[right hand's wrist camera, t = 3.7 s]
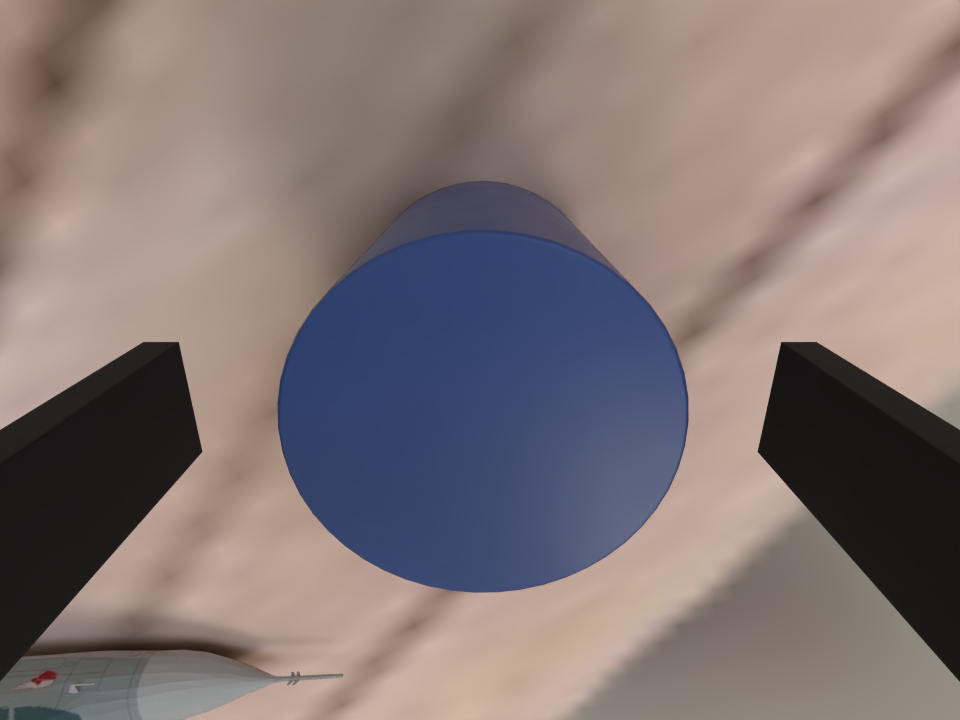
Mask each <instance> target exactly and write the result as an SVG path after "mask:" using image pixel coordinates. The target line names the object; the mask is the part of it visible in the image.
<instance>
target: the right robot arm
mask: <svg viewBox="0 0 960 720" xmlns="http://www.w3.org/2000/svg"><path fill="white" fill-rule="evenodd" d="M201 453H202V448H201V444H200V439H199V434H198V430H197V425H196V420H195V416H194V411H193V406H192V402H191V397H190V393H189V388H188V383H187V379H186V374H185V369H184V365H183V360H182V355H181V351H180V346H179V342H143V343H141V344H140V345H138V346H136V347H135V348H133V349H132V350H130V351H128V352H127V353H125V354H123V355H122V356H120V357H118V358H117V359H115V360H114V361H112V362H110V363H109V364H107V365H105V366H104V367H102V368H101V369H99V370H97V371H96V372H94V373H92V374H91V375H89V376H87V377H86V378H84V379H83V380H81V381H79V382H78V383H76V384H74V385H73V386H71V387H70V388H68V389H66V390H65V391H63V392H61V393H60V394H58V395H56V396H55V397H53V398H52V399H50V400H48V401H47V402H45V403H43V404H42V405H40V406H39V407H37V408H35V409H34V410H32V411H30V412H29V413H27V414H25V415H24V416H22V417H21V418H19V419H17V420H16V421H14V422H12V423H11V424H9V425H8V426H6V427H4V428H3V429H1V430H0V681H1V680H2V679H3V678H4V677H5V676H6V674H7V673H8V672H9V671H10V670H11V669H12V668H13V666H14V665H15V664H16V663H17V662H18V661H19V660H20V659H21V657H22V656H23V655H24V654H25V653H26V652H27V651H28V649H29V648H30V647H31V646H32V645H33V644H34V643H35V641H36V640H37V639H38V638H39V637H40V636H41V635H42V634H43V632H44V631H45V630H46V629H47V628H48V627H49V626H50V624H51V623H52V622H53V621H54V620H55V619H56V618H57V616H58V615H59V614H60V613H61V612H62V611H63V610H64V608H65V607H66V606H67V605H68V604H69V603H70V602H71V601H72V599H73V598H74V597H75V596H76V595H77V594H78V593H79V591H80V590H81V589H82V588H83V587H84V586H85V585H86V583H87V582H88V581H89V580H90V579H91V578H92V577H93V576H94V574H95V573H96V572H97V571H98V570H99V569H100V568H101V566H102V565H103V564H104V563H105V562H106V561H107V560H108V558H109V557H110V556H111V555H112V554H113V553H114V552H115V550H116V549H117V548H118V547H119V546H120V545H121V544H122V543H123V541H124V540H125V539H126V538H127V537H128V536H129V535H130V533H131V532H132V531H133V530H134V529H135V528H136V527H137V525H138V524H139V523H140V522H141V521H142V520H143V519H144V518H145V516H146V515H147V514H148V513H149V512H150V511H151V510H152V508H153V507H154V506H155V505H156V504H157V503H158V502H159V500H160V499H161V498H162V497H163V496H164V495H165V494H166V492H167V491H168V490H169V489H170V488H171V487H172V486H173V485H174V483H175V482H176V481H177V480H178V479H179V478H180V477H181V475H182V474H183V473H184V472H185V471H186V470H187V469H188V467H189V466H190V465H191V464H192V463H193V462H194V461H195V459H196V458H197V457H198V456H199V455H200V454H201ZM758 453H759V454H760V455H761V456H762V457H763V458H764V460H765V461H766V462H767V463H768V464H769V465H770V466H771V467H772V469H773V470H774V471H775V472H776V473H777V474H778V475H779V477H780V478H781V479H782V480H783V481H784V482H785V483H786V485H787V486H788V487H789V488H790V489H791V490H792V491H793V492H794V494H795V495H796V496H797V497H798V498H799V499H800V500H801V502H802V503H803V504H804V505H805V506H806V507H807V508H808V510H809V511H810V512H811V513H812V514H813V515H814V516H815V518H816V519H817V520H818V521H819V522H820V523H821V524H822V525H823V527H824V528H825V529H826V530H827V531H828V532H829V533H830V535H831V536H832V537H833V538H834V539H835V540H836V541H837V543H838V544H839V545H840V546H841V547H842V548H843V549H844V550H845V552H846V553H847V554H848V555H849V556H850V557H851V558H852V560H853V561H854V562H855V563H856V564H857V565H858V566H859V568H860V569H861V570H862V571H863V572H864V573H865V574H866V575H867V577H868V578H869V579H870V580H871V581H872V582H873V583H874V585H875V586H876V587H877V588H878V589H879V590H880V591H881V593H882V594H883V595H884V596H885V597H886V598H887V599H888V601H889V602H890V603H891V604H892V605H893V606H894V607H895V608H896V610H897V611H898V612H899V613H900V614H901V615H902V616H903V618H904V619H905V620H906V621H907V622H908V623H909V624H910V626H911V627H912V628H913V629H914V630H915V631H916V632H917V634H918V635H919V636H920V637H921V638H922V639H923V640H924V641H925V643H926V644H927V645H928V646H929V647H930V648H931V649H932V651H933V652H934V653H935V654H936V655H937V656H938V657H939V658H940V660H941V661H942V662H943V663H944V664H945V665H946V666H947V668H948V669H949V670H950V671H951V672H952V673H953V674H954V676H955V677H956V678H957V679H958V680H959V681H960V430H959V429H957V428H956V427H954V426H952V425H951V424H949V423H948V422H946V421H944V420H943V419H941V418H939V417H938V416H936V415H935V414H933V413H931V412H930V411H928V410H926V409H925V408H923V407H921V406H920V405H918V404H917V403H915V402H913V401H912V400H910V399H908V398H907V397H905V396H904V395H902V394H900V393H899V392H897V391H895V390H894V389H892V388H890V387H889V386H887V385H886V384H884V383H882V382H881V381H879V380H877V379H876V378H874V377H873V376H871V375H869V374H868V373H866V372H864V371H863V370H861V369H859V368H858V367H856V366H855V365H853V364H851V363H850V362H848V361H846V360H845V359H843V358H842V357H840V356H838V355H837V354H835V353H833V352H832V351H830V350H828V349H827V348H825V347H824V346H822V345H820V344H819V343H817V342H781V346H780V351H779V355H778V360H777V365H776V369H775V374H774V379H773V383H772V388H771V393H770V397H769V402H768V406H767V411H766V416H765V420H764V425H763V430H762V434H761V439H760V444H759V448H758Z"/></svg>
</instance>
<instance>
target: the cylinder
mask: <svg viewBox="0 0 960 720" xmlns="http://www.w3.org/2000/svg"><path fill="white" fill-rule="evenodd" d="M277 404H278V429H279V435H280V440H281V446H282V451H283V455H284V458H285V461H286V464H287V467H288V470H289V473H290V475H291V477H292V479H293V481H294V483H295V485H296V487H297V489H298V491H299V493H300V495H301V496H302V498H303V499H304V501H305V502H306V504H307V505H308V507H309V508H310V510H311V511H312V513H313V514H314V515H315V516H316V518H317V519H318V520H319V521H320V522H321V523H322V524H323V526H324V527H325V528H326V529H327V530H328V531H329V532H330V533H331V534H332V535H333V536H335V537H336V538H337V539H338V540H339V541H340V542H341V543H342V544H343V545H345V546H346V547H347V548H349V549H350V550H352V551H353V552H354V553H356V554H357V555H359V556H360V557H361V558H363V559H364V560H366V561H368V562H370V563H372V564H373V565H375V566H377V567H379V568H381V569H383V570H384V571H387V572H389V573H392V574H394V575H396V576H399V577H401V578H404V579H406V580H409V581H413V582H416V583H419V584H423V585H426V586H430V587H435V588H441V589H446V590H452V591H463V592H504V591H513V590H521V589H526V588H530V587H535V586H540V585H544V584H547V583H550V582H553V581H556V580H559V579H562V578H565V577H568V576H570V575H572V574H574V573H577V572H579V571H581V570H583V569H586V568H587V567H589V566H591V565H593V564H594V563H596V562H598V561H599V560H601V559H603V558H605V557H606V556H608V555H609V554H610V553H612V552H613V551H614V550H616V549H617V548H618V547H620V546H621V545H622V544H624V543H625V542H626V541H627V540H628V539H629V538H630V537H631V536H632V535H634V534H635V533H636V532H637V531H638V530H639V529H640V528H641V527H642V526H643V525H644V523H645V522H646V521H647V520H648V519H649V517H650V516H651V515H652V514H653V512H654V511H655V510H656V509H657V507H658V506H659V504H660V502H661V501H662V499H663V498H664V496H665V495H666V493H667V491H668V490H669V488H670V485H671V483H672V481H673V479H674V477H675V474H676V472H677V470H678V468H679V464H680V461H681V457H682V454H683V451H684V447H685V442H686V435H687V428H688V392H687V386H686V380H685V374H684V370H683V367H682V364H681V361H680V358H679V355H678V352H677V349H676V347H675V345H674V343H673V341H672V339H671V337H670V335H669V333H668V331H667V329H666V327H665V325H664V324H663V322H662V321H661V319H660V318H659V317H658V315H657V314H656V312H655V311H654V310H653V308H652V307H651V305H650V304H649V303H648V302H647V301H646V300H645V299H644V298H643V297H642V296H641V295H640V294H639V292H638V291H637V290H636V289H635V288H634V287H633V286H632V285H631V284H630V283H629V282H628V281H627V280H626V279H625V278H624V277H623V276H622V275H621V274H620V273H619V272H618V271H617V269H616V268H615V267H614V266H613V265H612V264H611V263H610V262H609V261H608V260H607V259H606V258H605V257H604V256H603V255H602V254H601V253H600V252H599V251H598V250H597V249H596V248H595V247H594V245H593V244H592V243H591V242H590V241H589V240H588V239H587V238H586V237H585V236H584V235H583V234H582V233H581V232H580V231H579V230H578V229H577V228H576V227H575V226H574V225H573V224H572V223H571V221H570V220H569V219H568V218H567V217H566V216H565V215H564V214H563V213H562V212H561V211H560V210H558V209H557V208H556V207H555V206H553V205H552V204H551V203H550V202H548V201H547V200H545V199H543V198H541V197H540V196H538V195H536V194H535V193H532V192H530V191H527V190H525V189H523V188H520V187H516V186H513V185H509V184H505V183H497V182H489V181H487V182H468V183H461V184H455V185H452V186H449V187H445V188H442V189H439V190H437V191H435V192H433V193H431V194H429V195H426V196H425V197H423V198H422V199H420V200H419V201H417V202H415V203H414V204H412V205H411V206H410V207H409V208H408V209H407V210H405V211H404V212H403V213H402V214H401V215H400V216H399V217H398V218H397V219H396V220H395V221H394V222H393V223H392V224H391V225H390V226H389V227H388V229H387V230H386V231H385V232H384V233H383V234H382V235H381V236H380V237H379V238H378V239H377V240H376V241H375V242H374V243H373V244H372V246H371V247H370V248H369V249H368V250H367V251H366V252H365V253H364V254H363V255H362V256H361V257H360V258H359V259H358V260H357V261H356V263H355V264H354V265H353V266H352V267H351V268H350V269H349V270H348V271H347V272H346V273H345V274H344V275H343V276H342V277H341V278H340V279H339V281H338V282H337V283H336V284H335V285H334V286H333V287H332V288H331V289H330V290H329V291H328V292H327V294H326V295H325V296H324V297H323V298H322V299H321V300H320V301H319V303H318V304H317V305H316V306H315V307H314V308H313V309H312V311H311V312H310V314H309V315H308V317H307V318H306V320H305V322H304V323H303V325H302V326H301V328H300V329H299V331H298V332H297V335H296V337H295V339H294V341H293V343H292V346H291V348H290V350H289V352H288V355H287V358H286V361H285V365H284V368H283V372H282V375H281V379H280V387H279V395H278V403H277Z"/></svg>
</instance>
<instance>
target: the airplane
mask: <svg viewBox="0 0 960 720" xmlns="http://www.w3.org/2000/svg"><path fill="white" fill-rule="evenodd" d="M339 677H343V674H329V675H307V676H300V673H299V672H297V676H295V675H294V672H292V674H291V676H289V677H275V676H273V675H271V674H268V673H266V672H264V671H262V670H260V669H258V668H255V667H253V666H250V665H247V664H244V663H242V662H239V661H236V660H233V659H231V658H227V657H223V656H220V655H216V654H212V653H209V652H202V651H192V650H165V651H93V652H78V653H66V654H54V655H40V656H25V657H21V659H20V660H19V661H18V662H17V663H16V664H15V665H14V666H13V668H12V669H11V670H10V671H9V672H8V673H7V674H6V676H5V677H4V678H3V679H2V680H1V681H0V720H183V719H186V718H189V717H192V716H196V715H199V714H202V713H205V712H208V711H210V710H212V709H215V708H217V707H220V706H222V705H224V704H227V703H229V702H231V701H233V700H235V699H238V698H240V697H242V696H244V695H247V694H249V693H251V692H254V691H256V690H258V689H261V688H263V687H265V686H268V685H270V684H272V683H277V682H284V681H289V683H288V684H287V685H289V684H291V683H292V682H293V681H295V682H294V683H293V685H295V684H296V683H297V682H298V681H299V680H312V679H327V678H339Z"/></svg>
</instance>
